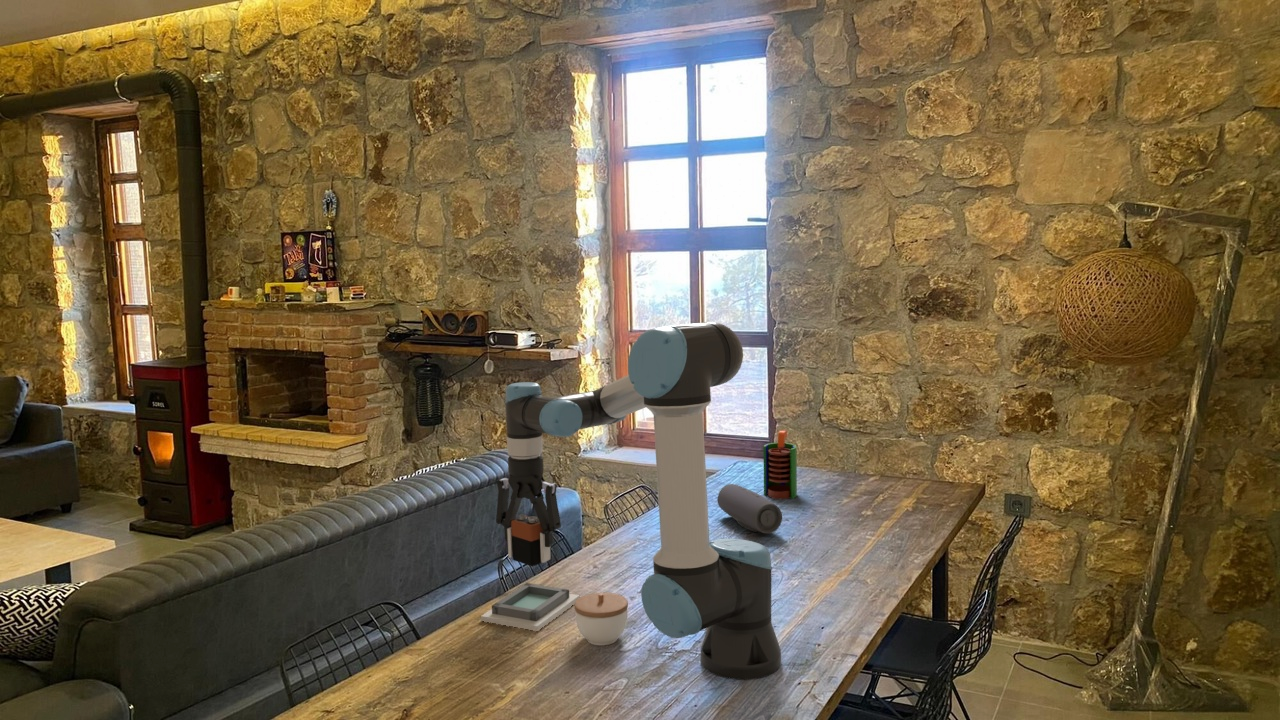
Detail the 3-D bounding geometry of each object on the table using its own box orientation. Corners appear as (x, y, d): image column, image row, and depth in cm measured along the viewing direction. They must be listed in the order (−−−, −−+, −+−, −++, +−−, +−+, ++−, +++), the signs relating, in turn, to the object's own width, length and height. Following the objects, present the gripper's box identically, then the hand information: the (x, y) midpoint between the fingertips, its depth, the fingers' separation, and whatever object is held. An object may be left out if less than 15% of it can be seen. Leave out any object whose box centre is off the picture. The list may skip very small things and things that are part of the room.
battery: (532, 567, 194) (530, 521, 193) (511, 560, 199) (509, 515, 198) (547, 561, 197) (546, 517, 196) (527, 555, 202) (525, 511, 201)
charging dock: (537, 631, 188) (536, 617, 188) (481, 621, 194) (480, 607, 194) (579, 600, 205) (579, 587, 204) (526, 591, 211) (526, 579, 210)
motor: (762, 497, 283) (761, 434, 281) (766, 490, 292) (766, 428, 289) (795, 499, 280) (794, 435, 278) (798, 492, 289) (798, 429, 286)
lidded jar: (600, 623, 192) (598, 580, 191) (639, 636, 185) (638, 592, 184) (564, 641, 184) (562, 596, 182) (604, 655, 177) (603, 609, 176)
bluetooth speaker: (784, 535, 246) (784, 499, 245) (754, 540, 243) (753, 504, 242) (744, 513, 267) (744, 480, 266) (715, 517, 264) (715, 484, 263)
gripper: (575, 455, 194) (579, 558, 197) (495, 447, 203) (499, 547, 206) (557, 462, 187) (561, 570, 190) (475, 455, 196) (480, 557, 199)
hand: (529, 558), depth 198 cm, fingers closed on battery, 7 cm apart
